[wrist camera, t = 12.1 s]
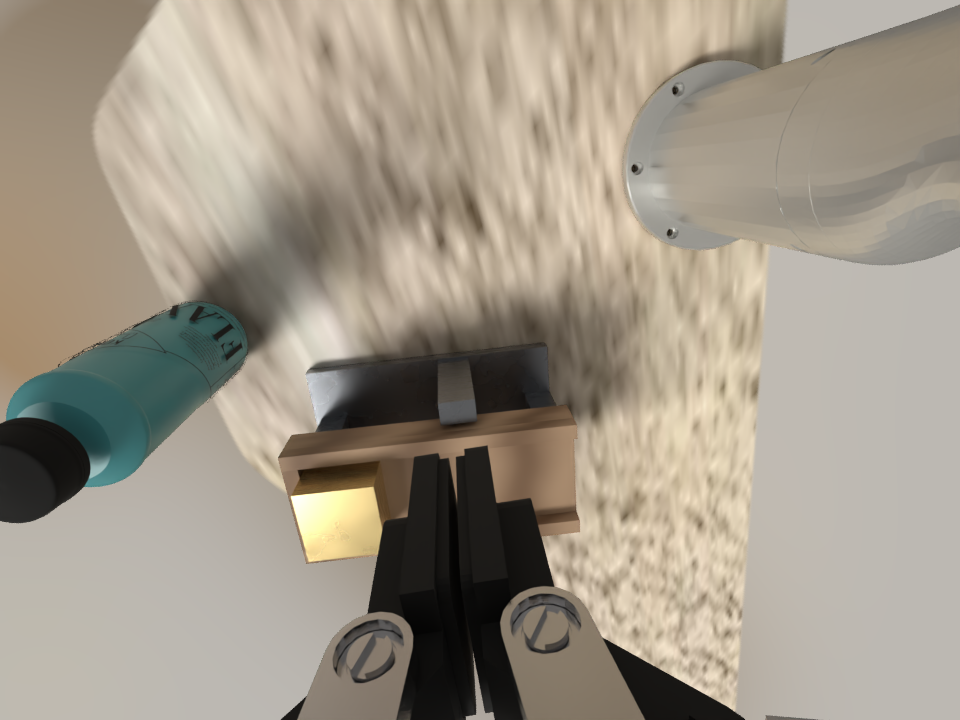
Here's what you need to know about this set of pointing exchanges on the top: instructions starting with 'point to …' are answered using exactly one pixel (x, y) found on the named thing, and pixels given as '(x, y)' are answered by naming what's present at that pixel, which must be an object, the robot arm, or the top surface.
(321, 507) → the brass block
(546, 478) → the beam
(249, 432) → the top surface
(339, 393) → the beam stand
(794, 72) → the robot arm
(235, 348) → the beverage bottle
